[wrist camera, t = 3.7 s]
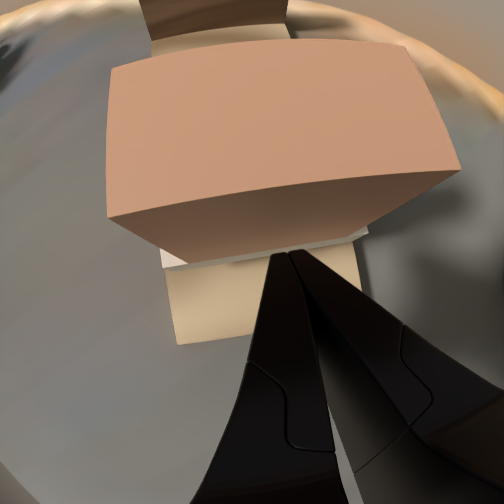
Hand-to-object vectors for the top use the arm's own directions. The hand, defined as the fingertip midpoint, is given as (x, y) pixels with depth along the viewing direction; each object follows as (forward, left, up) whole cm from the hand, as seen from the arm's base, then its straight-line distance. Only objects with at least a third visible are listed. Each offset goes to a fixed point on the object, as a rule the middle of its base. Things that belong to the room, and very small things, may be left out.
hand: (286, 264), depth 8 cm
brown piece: (+5, -2, -8) cm, 9 cm away
